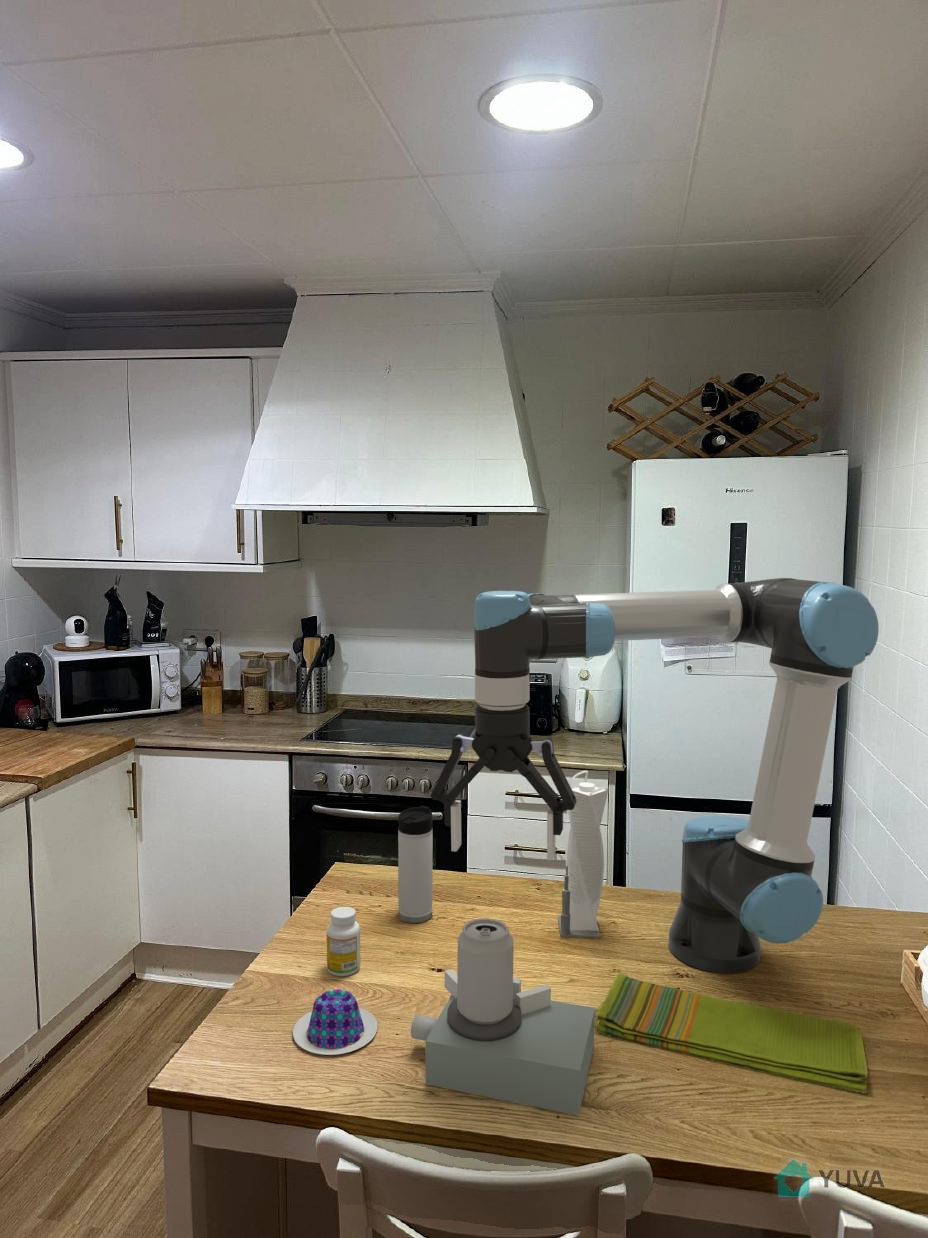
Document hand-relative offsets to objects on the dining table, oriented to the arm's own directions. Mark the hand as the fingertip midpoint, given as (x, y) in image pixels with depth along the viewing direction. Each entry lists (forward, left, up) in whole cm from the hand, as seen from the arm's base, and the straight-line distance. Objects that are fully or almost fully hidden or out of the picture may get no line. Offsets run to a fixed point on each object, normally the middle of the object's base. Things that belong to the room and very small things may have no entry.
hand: (503, 852), depth 119 cm
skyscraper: (-7, -35, -27) cm, 44 cm away
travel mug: (+23, -30, -27) cm, 46 cm away
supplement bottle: (+28, -9, -27) cm, 40 cm away
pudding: (+23, +7, -27) cm, 36 cm away
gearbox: (-2, +7, -27) cm, 28 cm away
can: (0, +7, -20) cm, 21 cm away
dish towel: (-31, -9, -27) cm, 43 cm away
